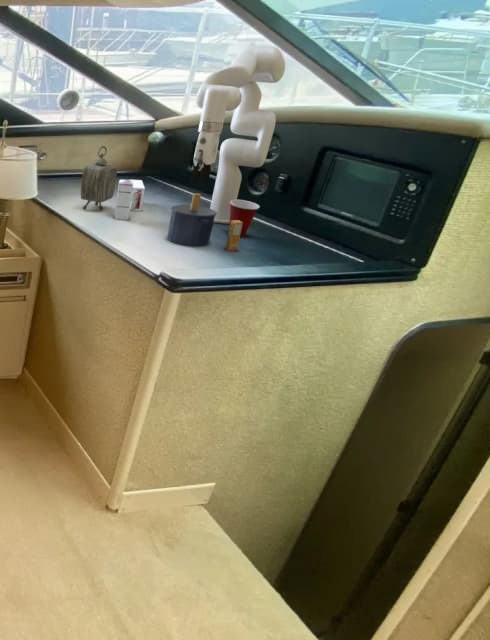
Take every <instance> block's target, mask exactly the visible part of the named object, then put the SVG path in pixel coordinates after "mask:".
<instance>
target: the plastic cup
mask: <svg viewBox="0 0 490 640" xmlns="http://www.w3.org/2000/svg"><path fill="white" fill-rule="evenodd" d="M260 207H261V206H260V205H259V204H258V203H256V202H252V201H249V200H244V199H237V200H231V201H230V223H231V220H239V221H241V222H243V224H242V229H241V234H240V238H242V237H245V236H246V234H247V232H248V230H249V228H250V226H251V224H252V221H253V219H254V216H255V215H256V212H257V211H258V210H259V209H260ZM230 223H229V228H230ZM229 228H228V229H229Z"/></svg>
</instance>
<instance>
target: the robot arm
mask: <svg viewBox="0 0 490 640" xmlns="http://www.w3.org/2000/svg"><path fill="white" fill-rule="evenodd" d="M285 71H286V60H285V57H284V55H283V53H282V51H281V50H280V49H279V48H278V47H277V46H273V45H272V46H271V45H256V44H255V45H253V44H252V45H246V46H244V47H242V48H241V49H239V51H238V52H237V54H236V55H235V57H234V59H232V61H231V62H230V64H229V66H226V67H224V68H221V69H219V70H217V71H214V72H213V73H211V74H209V75H208V76H207V77H206V78H205V79H204V81H203V82H202V83H201V85H200V87H199V88H198V91H197V93H196V97H195V102H196V103H195V104H196V105H197V107H198V108H200V109H201V112H200V117H199V124H198V129H197V132H199V134H198V137H197V141H196V145H195V148H194V149H195V150H194V155H193V163H192V168H191V174H190V179H189V182H190V183H193V184H200V183H201V180H205V181H208V180H210V176H211V172H212V168H213V164H215V163H216V160H217V155H218V149H219V158H218V169H217V174H216V178H215V182H214V186H213V193H212V196H211V201H210V207H209V209H212V210H214V211H216V212H217V214H216V215H215V218H214V222H213V223H217V224H229V223H230V201H231V200H238V195H239V191H240V187H241V184H242V180H243V179H242V171H241V170H240V168H239V166H240V167H241V166H242V167H249V168H260V167H262V166H264V164H265V162H266V159H267V156H268V153H269V149H270V146H271V142H272V139H273V135H274V131H275V127H276V122H277V116H276V114H275V113H274V111H271V110H267V109H259V108H260V104H261V101H262V91H261V89H260V87H259V84H258V83H267V84H276V83H278V82H280V81H281V79H282V78H283V76H284V74H285ZM226 112H233V114H232V117H231V122H230V132H231V133H232V134H234V135H239V136H245V137H254V138H257V140H253V139H247V138H239V137H238V138H237V137H232V138H227V139H225V140H223V141H222V143H221V144H220V147H219V143H220V136H221V134H222V131H223V127H224V121H225V116H226V114H227V113H226Z"/></svg>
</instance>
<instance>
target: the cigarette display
mask: <svg viewBox="0 0 490 640" xmlns="http://www.w3.org/2000/svg"><path fill="white" fill-rule="evenodd" d="M128 180H132V181H133V191H132V200H131V207H130V211H134V212H135V211H136V212H141V211H142V209H143V203H144V198H145V197H144V196H145V189H146V188H145V185H144V182H143V180H142V179H128Z"/></svg>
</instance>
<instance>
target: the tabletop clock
mask: <svg viewBox="0 0 490 640" xmlns="http://www.w3.org/2000/svg"><path fill="white" fill-rule="evenodd" d="M102 149H104V153H100V152H101V150H102ZM107 151H108V150H107V147H106V146H103V145H102V146H101V147H99V149H98V152H97V156H98V158H97V159H96V160H95V161H94V162H93V163H89V164H86V166H84V168H83V171H82V176H81V183H80V199H81V200H82V201H83V200H84V201H87V202H86V203H85V205H83V206H82V210H86V209H87V207H88V205H90V203H91V202H93V203H94V206H98V210H100V211H101V210H102V209H103V206H102V203H104V202H106V201H108V200H111V199H112V198H113V197H114V195H115V191H116V183H117V176H118V175H117V174H118V173H117V171H118V170H117V168H116V167H115V166H114V165H110V164H108V161H107V159H106V158H104V157H105V156H106V154H107Z"/></svg>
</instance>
